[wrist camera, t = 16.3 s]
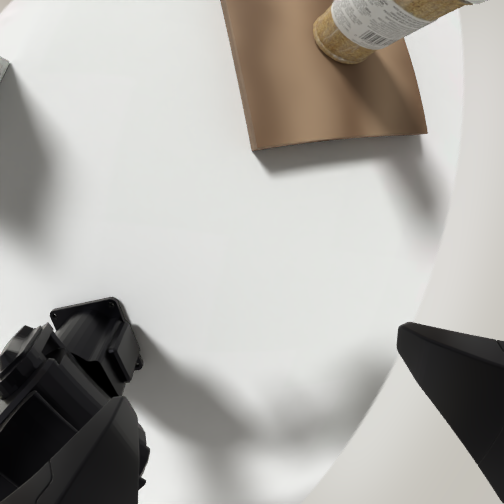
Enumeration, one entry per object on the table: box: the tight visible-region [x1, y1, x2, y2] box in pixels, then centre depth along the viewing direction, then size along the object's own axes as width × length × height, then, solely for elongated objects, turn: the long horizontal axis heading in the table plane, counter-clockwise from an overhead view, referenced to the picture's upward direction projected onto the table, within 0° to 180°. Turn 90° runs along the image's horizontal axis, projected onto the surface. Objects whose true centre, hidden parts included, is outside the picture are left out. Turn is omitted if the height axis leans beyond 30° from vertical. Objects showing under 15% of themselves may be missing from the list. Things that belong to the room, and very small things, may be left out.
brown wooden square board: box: [220, 0, 428, 151], centre depth 17 cm, size 14×14×2 cm
